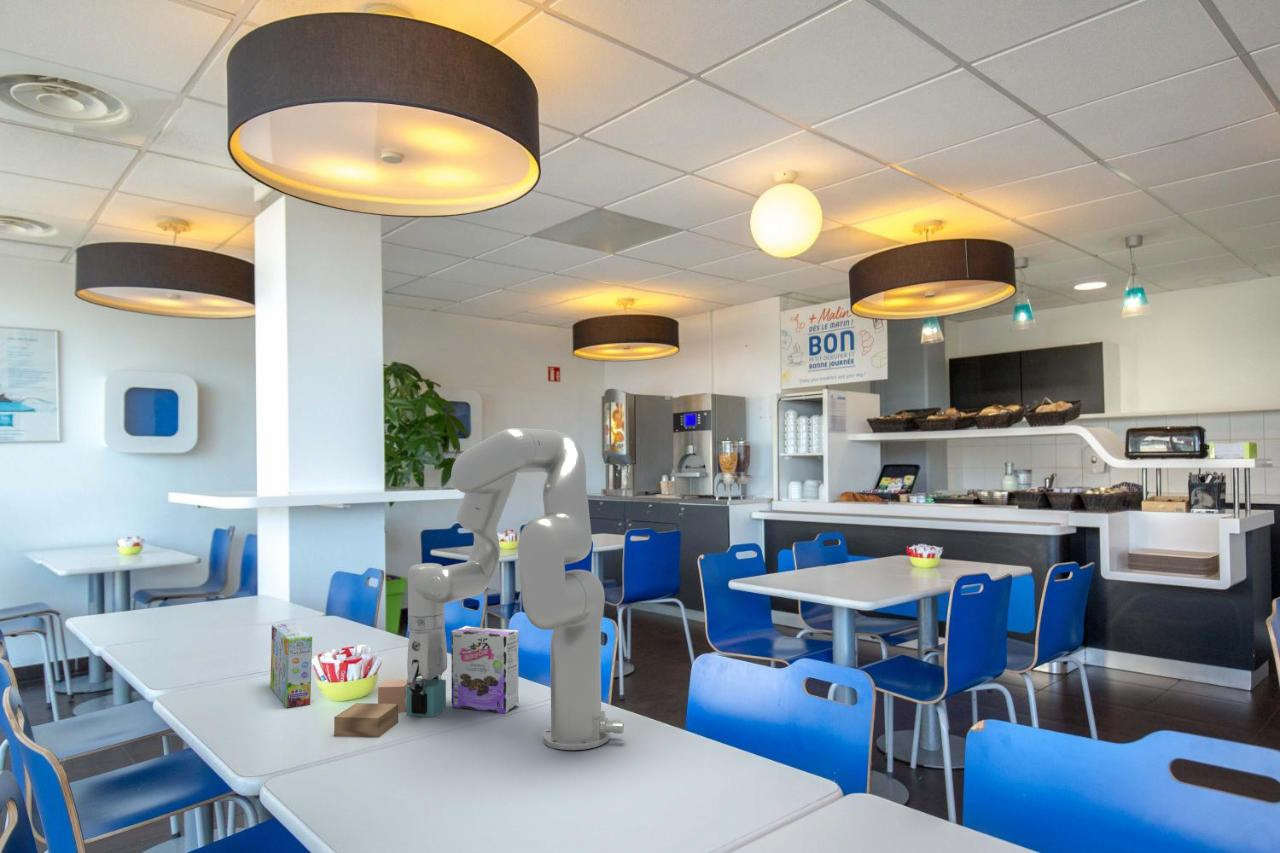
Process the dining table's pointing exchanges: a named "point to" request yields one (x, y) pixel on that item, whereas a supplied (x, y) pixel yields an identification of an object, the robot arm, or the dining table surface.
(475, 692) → the candy box
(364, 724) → the walnut block
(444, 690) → the teal cube
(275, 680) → the snack box
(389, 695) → the terracotta cube
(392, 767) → the dining table surface
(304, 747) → the dining table surface
